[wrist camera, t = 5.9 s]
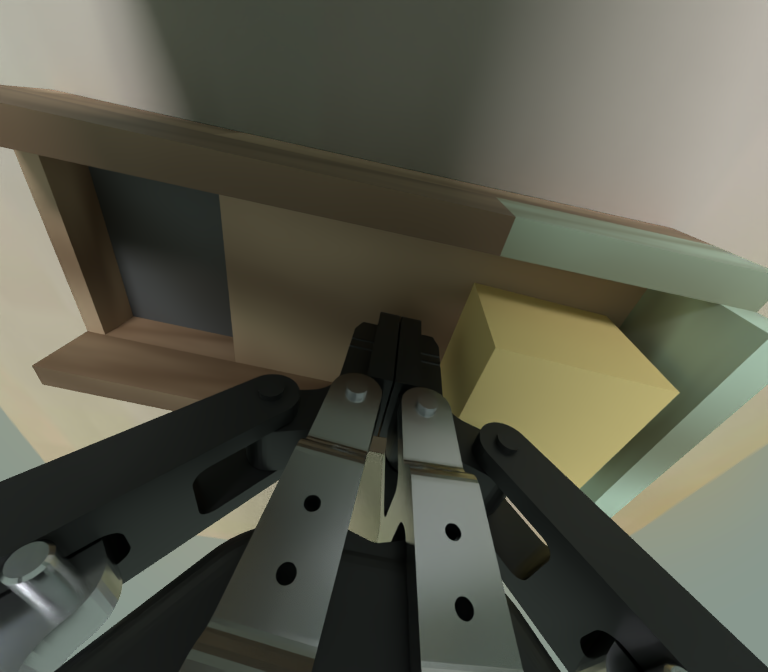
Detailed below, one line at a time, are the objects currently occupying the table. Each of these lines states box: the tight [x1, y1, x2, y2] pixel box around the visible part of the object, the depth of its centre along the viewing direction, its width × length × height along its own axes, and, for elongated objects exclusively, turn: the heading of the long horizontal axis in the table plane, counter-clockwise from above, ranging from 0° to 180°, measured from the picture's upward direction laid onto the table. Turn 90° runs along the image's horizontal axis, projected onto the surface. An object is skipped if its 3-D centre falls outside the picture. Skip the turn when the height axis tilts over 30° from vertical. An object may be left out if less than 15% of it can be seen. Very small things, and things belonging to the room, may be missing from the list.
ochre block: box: [440, 283, 680, 489], centre depth 11 cm, size 5×5×4 cm
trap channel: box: [0, 85, 768, 518], centre depth 12 cm, size 10×23×6 cm, turn 79°
